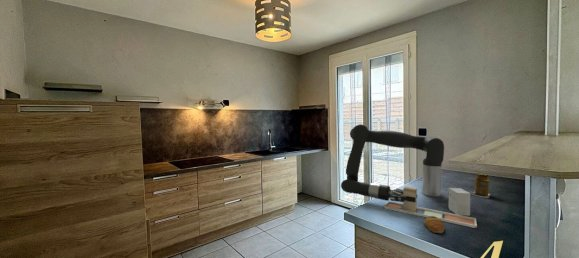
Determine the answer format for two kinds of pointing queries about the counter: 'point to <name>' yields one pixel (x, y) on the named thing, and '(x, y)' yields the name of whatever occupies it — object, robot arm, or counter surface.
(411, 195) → the beech block
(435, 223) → the pastry
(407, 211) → the rail channel
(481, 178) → the condiment
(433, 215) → the pad
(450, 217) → the pads
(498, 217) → the counter surface
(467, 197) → the small box
